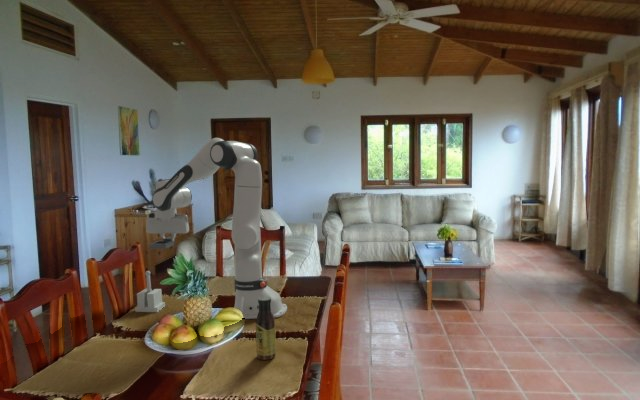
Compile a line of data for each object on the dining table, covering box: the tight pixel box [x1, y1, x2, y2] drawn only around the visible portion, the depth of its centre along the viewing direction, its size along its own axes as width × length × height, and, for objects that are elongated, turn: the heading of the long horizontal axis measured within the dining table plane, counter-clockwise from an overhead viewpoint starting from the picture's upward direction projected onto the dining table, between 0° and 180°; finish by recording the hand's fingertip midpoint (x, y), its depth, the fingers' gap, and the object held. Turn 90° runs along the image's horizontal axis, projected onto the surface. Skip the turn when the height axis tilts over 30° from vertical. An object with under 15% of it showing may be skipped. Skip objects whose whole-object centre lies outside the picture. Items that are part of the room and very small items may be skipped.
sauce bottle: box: [255, 296, 277, 361], centre depth 146 cm, size 7×6×20 cm
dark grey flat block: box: [148, 236, 175, 250], centre depth 210 cm, size 8×13×3 cm, turn 172°
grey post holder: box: [134, 270, 166, 313], centre depth 196 cm, size 10×7×17 cm
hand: (168, 242), depth 214 cm, fingers closed on dark grey flat block, 2 cm apart
